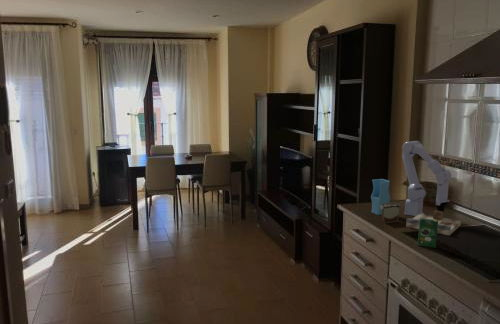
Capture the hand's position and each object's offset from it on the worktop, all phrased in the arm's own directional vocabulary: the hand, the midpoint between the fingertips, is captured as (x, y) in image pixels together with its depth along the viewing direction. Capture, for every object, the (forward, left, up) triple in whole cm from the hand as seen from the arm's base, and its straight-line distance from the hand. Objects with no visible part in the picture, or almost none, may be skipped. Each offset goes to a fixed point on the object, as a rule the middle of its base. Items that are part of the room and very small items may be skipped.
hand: (440, 215), depth 237 cm
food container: (-23, -19, -4) cm, 30 cm away
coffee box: (+7, -46, -4) cm, 47 cm away
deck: (0, -12, -3) cm, 13 cm away
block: (0, -5, -1) cm, 5 cm away
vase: (-33, -6, -4) cm, 34 cm away
